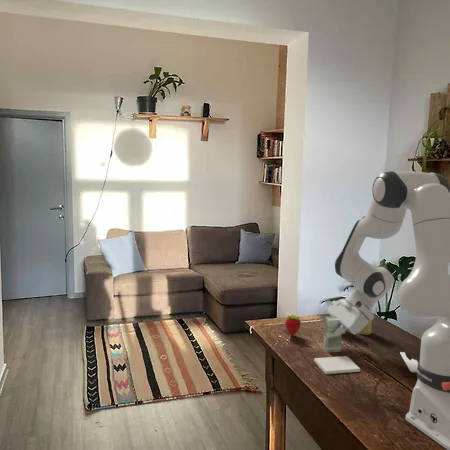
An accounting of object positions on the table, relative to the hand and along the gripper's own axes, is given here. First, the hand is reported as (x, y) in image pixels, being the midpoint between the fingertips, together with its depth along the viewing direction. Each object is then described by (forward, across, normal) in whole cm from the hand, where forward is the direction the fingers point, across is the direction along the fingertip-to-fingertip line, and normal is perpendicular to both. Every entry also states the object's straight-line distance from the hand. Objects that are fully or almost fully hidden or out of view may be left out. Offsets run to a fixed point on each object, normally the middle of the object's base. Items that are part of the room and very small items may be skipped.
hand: (331, 332), depth 165 cm
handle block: (+4, 0, +5) cm, 7 cm away
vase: (-10, -15, +20) cm, 26 cm away
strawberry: (+12, -15, -2) cm, 19 cm away
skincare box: (-2, -17, +12) cm, 21 cm away
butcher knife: (-12, +14, +22) cm, 29 cm away
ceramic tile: (+7, +13, +2) cm, 15 cm away
